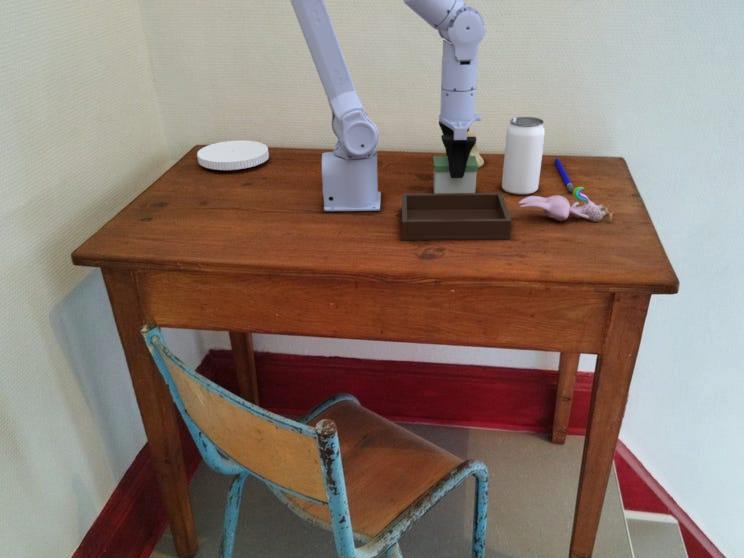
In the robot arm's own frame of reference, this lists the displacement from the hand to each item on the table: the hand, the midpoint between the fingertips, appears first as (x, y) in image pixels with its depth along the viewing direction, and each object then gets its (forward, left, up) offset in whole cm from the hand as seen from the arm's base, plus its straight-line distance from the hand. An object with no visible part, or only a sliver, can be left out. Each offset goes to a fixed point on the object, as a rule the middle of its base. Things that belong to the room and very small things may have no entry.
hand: (455, 169), depth 115 cm
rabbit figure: (+17, -12, -5) cm, 21 cm away
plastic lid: (-43, +18, -5) cm, 47 cm away
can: (+12, +2, -5) cm, 13 cm away
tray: (-1, -14, -4) cm, 14 cm away
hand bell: (+3, +17, -5) cm, 18 cm away
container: (0, 0, -4) cm, 4 cm away
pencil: (+21, +8, -4) cm, 23 cm away
